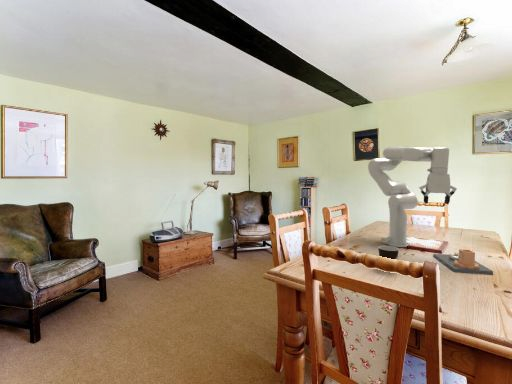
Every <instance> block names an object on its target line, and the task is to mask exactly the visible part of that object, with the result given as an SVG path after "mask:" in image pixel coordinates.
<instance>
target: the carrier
mask: <svg viewBox="0 0 512 384" xmlns="http://www.w3.org/2000/svg"><path fill="white" fill-rule="evenodd" d="M432 256H433V258H435V259H436V260H437V261H438V262H440V263H441V264H443V265H444V266H445V267H447V268H448V269H450V270H451V271H452V272H454V273H463V274H464V273H465V274H477V275H478V274H481V275H491V276H493V275H494V271H493V270H492V269H491V268H488V267H487V266H485V265H483V264H481V263H480V262H478V261H476V260H475V263H476V264H479V266H480V269H476V268H474V269H469V268H461V267H460V266H457V265H454V260H455V261H459V252H454V254H451V253H450V254H449V253H448V254H446V253H445V254H444V253H443V254H442V253H433V255H432Z"/></svg>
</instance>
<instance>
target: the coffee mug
mask: <svg viewBox="0 0 512 384" xmlns="http://www.w3.org/2000/svg"><path fill="white" fill-rule="evenodd" d="M377 249H378V257H379V256H382V257H387V258H391V259H397V260H398V256H399V250H400V249H399V247H394V246H390V245H379V246H378V247H377Z"/></svg>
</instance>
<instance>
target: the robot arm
mask: <svg viewBox="0 0 512 384" xmlns="http://www.w3.org/2000/svg"><path fill="white" fill-rule="evenodd" d="M382 155H383V157H380V158H379V157H375V158H372V159H371V160H370V161H369V162H368V165H367V170H368V174H369V176H370V177H371V178H372V179H373V180H374V182H375V183H376V184H377V185H378V187H379V189H380V190H381V192H382V193H383V194H384V196H385V197H389V198H388V201H387V204H388V209H389V228H388V229H389V232H388V236H386V237H380V241H383V242H385V243H386V246H393V247H396V248H407V246H408V245H409V246H410V244H409V243H408V242H407V236H408V234H407V230H408V228H407V227H408V216H407V213H406V211H405V210H414V209H415V208H416V207H417V206H418V204H419V200H418V198H417V196H416V194H415V193H414V192H413V190H412V189H411V188H410V186H409V185H407V183H405V182H404V181H394V180H392V179H391V178H390V175H389V174H387V173H386V172H384V171H388V172H389V171H393V170H394V169H396V168H397V167H398V166H399V165H400V164H401V163H402V162H405V161H406V162H430V167H429V168H427V170H426V171H427V172H429V173H428V174H427V179H426V183H425V184H424V185H421V186H419V187H418V190H419V192H420V193H421V194H422V196H423V202H424V204H429V195H430V194H431V193H432V194H445V196H444V204H445V205H449V204H450V202H451V197H452V196H453V195H454V194H455V193H456V191H457V187H455V186H453V185H451V176H450V174H449V173H448V169H449V159H450V157H449V156H450V148H448V147H447V146H445V147H444V146H442V147H441V146H438V147H419V146H418V147H416V146H415V147H411V146H410V147H409V146H398V145H397V146H396V145H395V146H388V147H385V149H383V151H382ZM424 189H425V191H424ZM409 246H408V247H409Z"/></svg>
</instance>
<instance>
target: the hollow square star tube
mask: <svg viewBox="0 0 512 384" xmlns="http://www.w3.org/2000/svg"><path fill="white" fill-rule="evenodd" d="M458 253H459V254H458V255H459V261H455V260H454V265H457V266H460V267H461V268H469V269H474V268H476V269H480V266H479V264H476V263H475V261H476V252H475V251H473V250H471V249H462V248H461V249H459V250H458Z"/></svg>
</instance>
